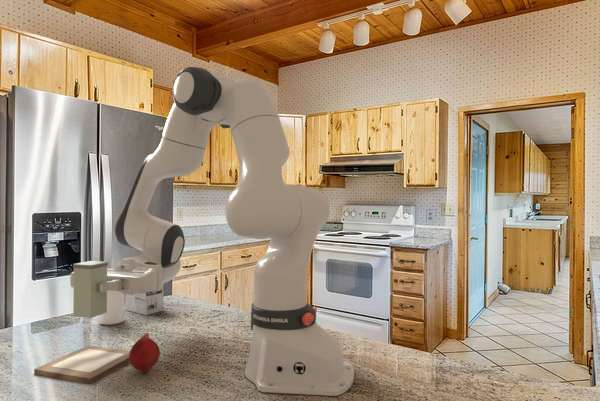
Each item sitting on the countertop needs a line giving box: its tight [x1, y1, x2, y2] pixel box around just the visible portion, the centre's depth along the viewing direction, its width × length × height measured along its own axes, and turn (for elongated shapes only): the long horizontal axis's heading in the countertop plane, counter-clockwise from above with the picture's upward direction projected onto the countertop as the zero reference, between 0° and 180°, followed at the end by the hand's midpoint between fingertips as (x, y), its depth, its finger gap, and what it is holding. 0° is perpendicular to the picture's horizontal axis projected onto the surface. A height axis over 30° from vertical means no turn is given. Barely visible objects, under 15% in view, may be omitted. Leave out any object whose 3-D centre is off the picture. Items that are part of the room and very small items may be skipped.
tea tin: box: [72, 260, 109, 319], centre depth 87 cm, size 5×5×11 cm
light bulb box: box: [125, 284, 164, 316], centre depth 129 cm, size 11×7×11 cm, turn 58°
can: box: [99, 291, 125, 326], centre depth 116 cm, size 6×6×12 cm
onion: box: [129, 333, 161, 374], centre depth 83 cm, size 6×6×8 cm
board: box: [33, 344, 131, 384], centre depth 87 cm, size 14×14×1 cm
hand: (87, 287), depth 86 cm, fingers closed on tea tin, 4 cm apart
